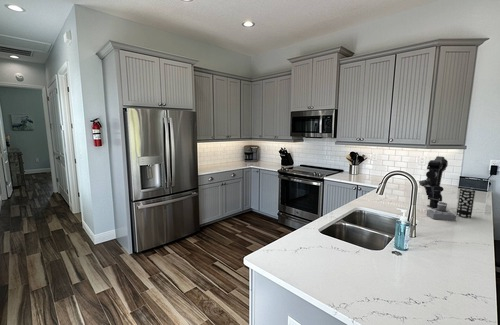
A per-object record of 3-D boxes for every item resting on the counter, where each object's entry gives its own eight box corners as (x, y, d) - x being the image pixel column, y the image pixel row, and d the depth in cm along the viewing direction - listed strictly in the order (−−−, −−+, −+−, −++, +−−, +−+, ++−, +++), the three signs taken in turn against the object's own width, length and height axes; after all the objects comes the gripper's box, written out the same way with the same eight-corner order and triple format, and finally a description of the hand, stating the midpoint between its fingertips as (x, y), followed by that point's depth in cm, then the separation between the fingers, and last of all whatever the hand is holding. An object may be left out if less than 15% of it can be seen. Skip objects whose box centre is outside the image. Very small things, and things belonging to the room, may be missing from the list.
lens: (443, 211, 174) (444, 202, 173) (447, 214, 169) (448, 204, 168) (435, 211, 175) (436, 201, 174) (439, 213, 170) (440, 204, 169)
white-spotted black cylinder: (474, 218, 172) (478, 191, 169) (462, 218, 172) (466, 191, 169) (464, 214, 180) (468, 188, 177) (453, 214, 180) (456, 188, 178)
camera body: (426, 214, 178) (427, 207, 177) (447, 216, 175) (448, 209, 175) (433, 219, 169) (434, 211, 168) (455, 221, 166) (456, 213, 166)
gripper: (415, 174, 191) (413, 193, 193) (427, 178, 173) (425, 199, 175) (431, 175, 189) (428, 194, 191) (445, 179, 171) (442, 200, 173)
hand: (430, 197), depth 183 cm, fingers open, 9 cm apart
